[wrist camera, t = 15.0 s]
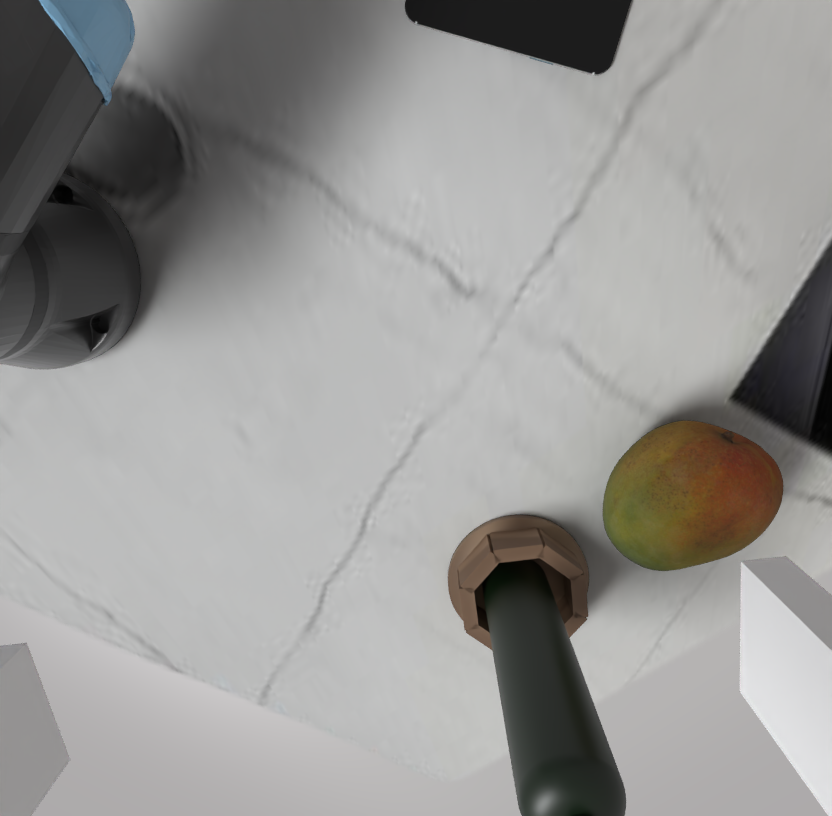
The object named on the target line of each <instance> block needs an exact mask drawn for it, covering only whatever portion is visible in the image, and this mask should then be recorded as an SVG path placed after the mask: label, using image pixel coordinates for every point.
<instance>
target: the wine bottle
mask: <svg viewBox="0 0 832 816" xmlns="http://www.w3.org/2000/svg"><path fill="white" fill-rule="evenodd" d="M482 590H483V596H484V602H485V608H486V614H487V620H488V626H489V632H490V638H491V644H492V650H493V656H494V662H495V668H496V674H497V680H498V686H499V692H500V698H501V704H502V710H503V716H504V722H505V728H506V734H507V740H508V746H509V752H510V758H511V764H512V770H513V776H514V781H515V787H516V794H517V800H518V805H519V809H520V812H521V815H522V816H624V815H625V809H626V794H625V789H624V785H623V782H622V779H621V776H620V774H619V771H618V768H617V765H616V763H615V760H614V757H613V755H612V752H611V749H610V747H609V744H608V741H607V738H606V736H605V733H604V730H603V728H602V725H601V722H600V720H599V717H598V714H597V711H596V709H595V706H594V703H593V701H592V698H591V695H590V693H589V690H588V687H587V684H586V682H585V679H584V676H583V674H582V671H581V668H580V666H579V663H578V660H577V657H576V655H575V652H574V649H573V647H572V644H571V641H570V639H569V636H568V633H567V630H566V628H565V625H564V622H563V620H562V617H561V614H560V612H559V609H558V606H557V603H556V601H555V598H554V595H553V593H552V590H551V587H550V585H549V582H548V579H547V576H546V574H545V572H544V570H543V569H542V568H541V566H540V565H539V564H537V563H536V562H535V561H533V560H531V559H528V560H519V561H511V562H502V563H499V564H498V565H497V566H496V567H495V568H494V569H493V570H492V571H491V573H490V574H489V575H488V576H487V577H486V578H485V579H484V580H483V582H482Z"/></svg>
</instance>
